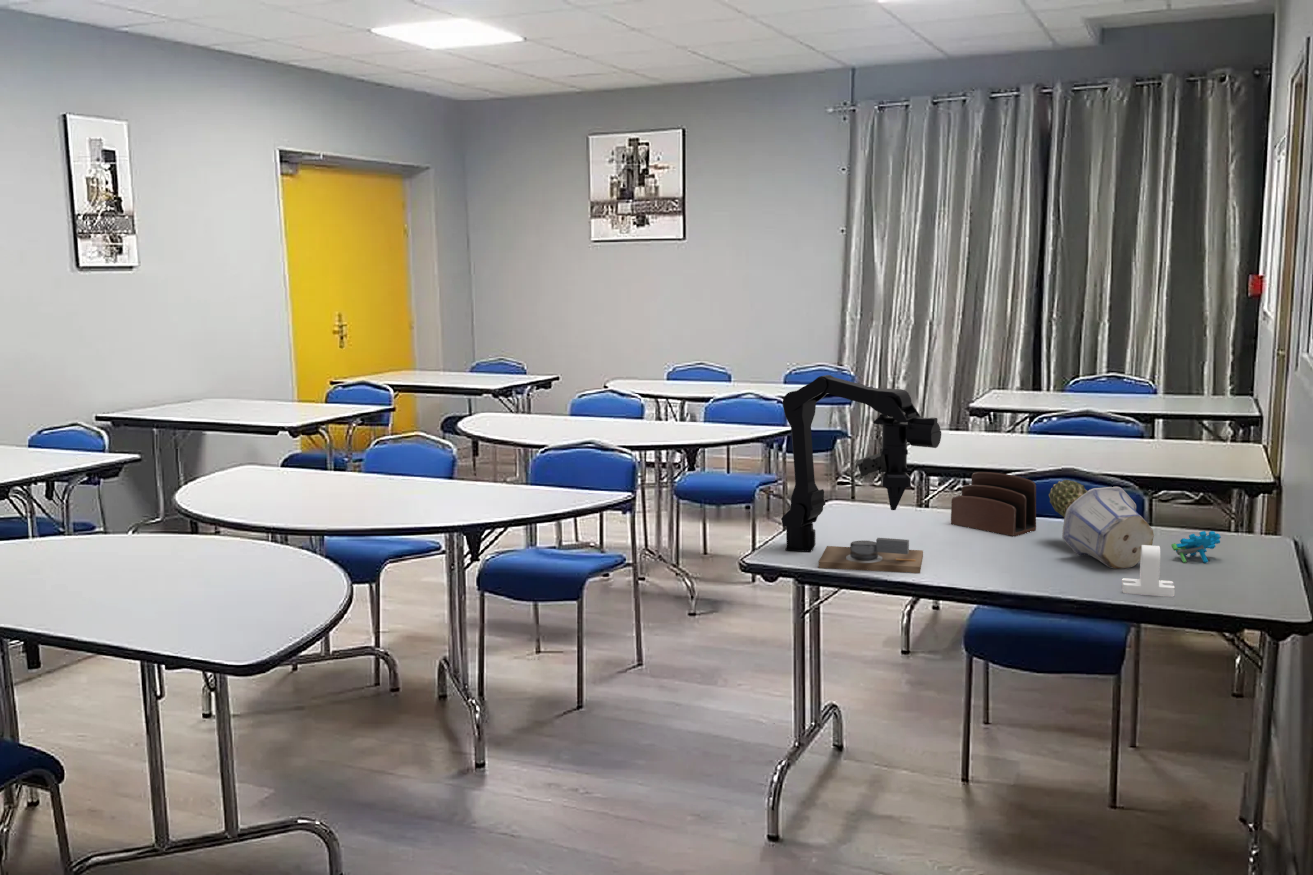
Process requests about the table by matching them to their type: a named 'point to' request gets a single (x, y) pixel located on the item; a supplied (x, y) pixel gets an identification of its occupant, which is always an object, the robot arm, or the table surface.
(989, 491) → the letter holder
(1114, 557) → the potted plant
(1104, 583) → the table surface
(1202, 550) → the blue spiky toy dinosaur
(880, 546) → the grey rotary lever handle
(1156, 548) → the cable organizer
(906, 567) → the base plate
